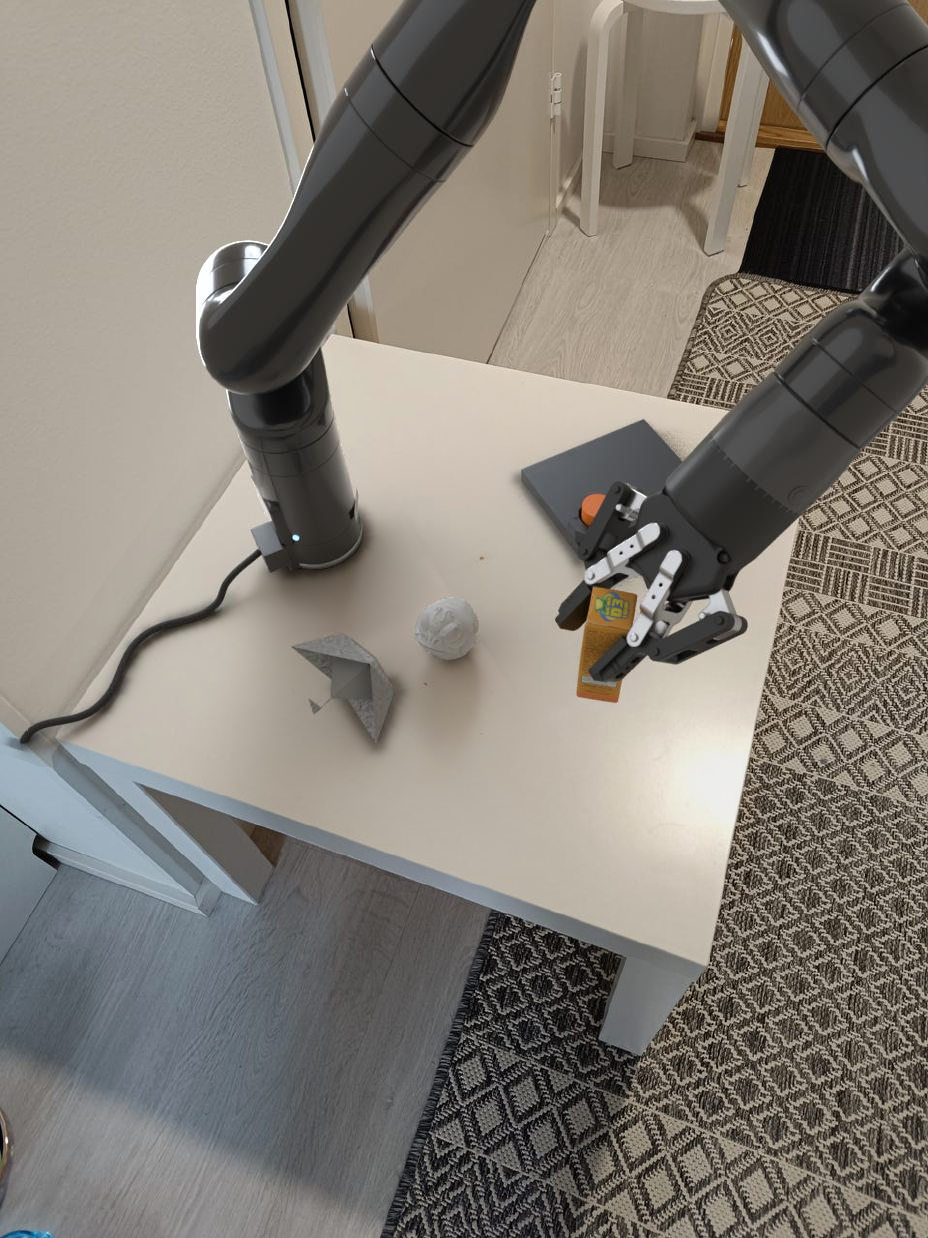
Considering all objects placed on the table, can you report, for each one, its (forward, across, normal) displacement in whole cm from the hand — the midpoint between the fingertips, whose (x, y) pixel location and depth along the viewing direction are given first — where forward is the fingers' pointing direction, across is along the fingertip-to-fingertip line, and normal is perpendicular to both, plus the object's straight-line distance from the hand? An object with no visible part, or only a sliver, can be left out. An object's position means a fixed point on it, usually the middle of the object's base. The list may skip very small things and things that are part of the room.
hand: (581, 650), depth 63 cm
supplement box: (+3, 0, -6) cm, 7 cm away
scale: (+1, +28, -30) cm, 41 cm away
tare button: (+2, +24, -24) cm, 34 cm away
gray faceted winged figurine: (+26, +17, -4) cm, 31 cm away
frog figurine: (+18, +18, -12) cm, 28 cm away
